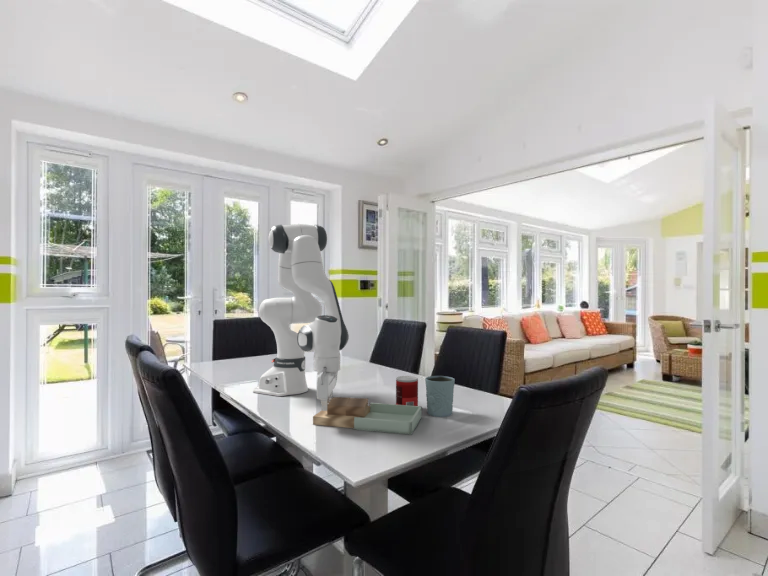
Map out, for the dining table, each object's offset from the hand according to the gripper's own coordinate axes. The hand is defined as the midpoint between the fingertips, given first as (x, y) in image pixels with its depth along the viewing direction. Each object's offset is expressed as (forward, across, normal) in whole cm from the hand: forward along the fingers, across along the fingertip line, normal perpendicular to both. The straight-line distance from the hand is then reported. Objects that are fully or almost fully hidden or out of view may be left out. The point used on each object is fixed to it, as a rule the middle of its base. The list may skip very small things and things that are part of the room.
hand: (327, 406), depth 140 cm
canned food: (+4, +11, -27) cm, 29 cm away
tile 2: (+1, -1, -10) cm, 10 cm away
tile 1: (+1, 0, -4) cm, 4 cm away
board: (+4, -1, -5) cm, 7 cm away
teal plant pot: (+4, +6, -38) cm, 39 cm away
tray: (+4, -5, -21) cm, 22 cm away
